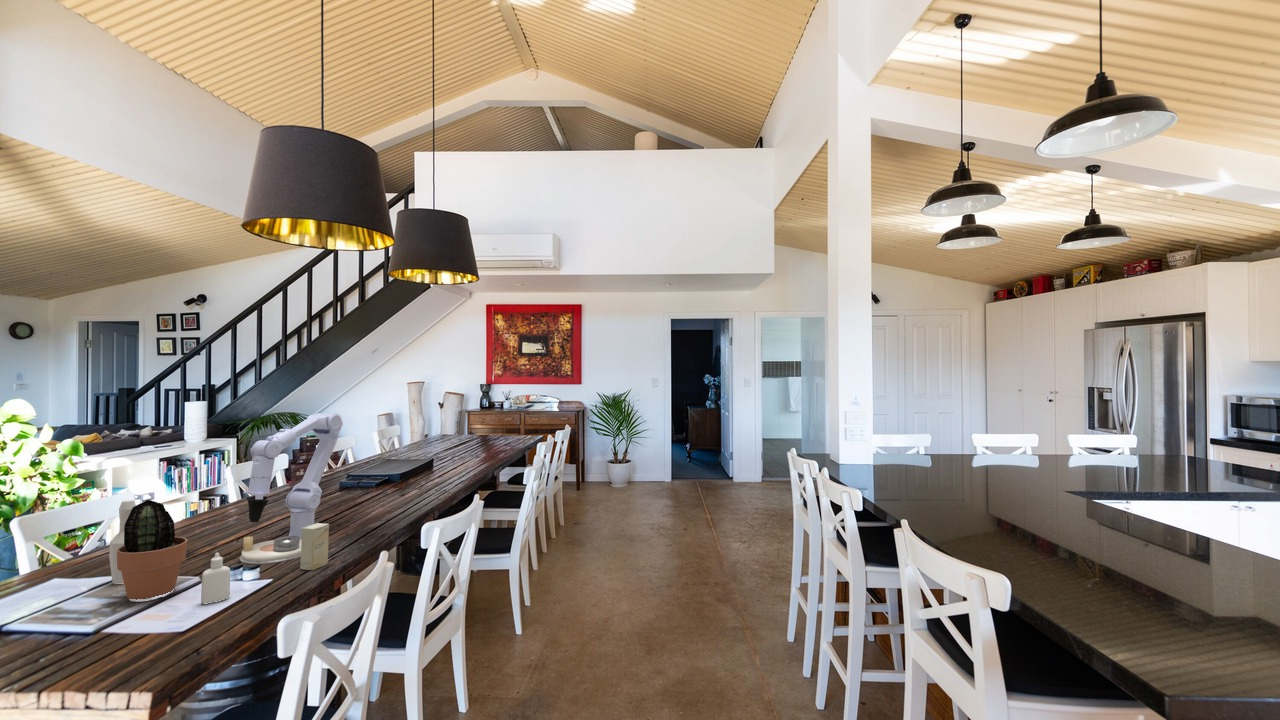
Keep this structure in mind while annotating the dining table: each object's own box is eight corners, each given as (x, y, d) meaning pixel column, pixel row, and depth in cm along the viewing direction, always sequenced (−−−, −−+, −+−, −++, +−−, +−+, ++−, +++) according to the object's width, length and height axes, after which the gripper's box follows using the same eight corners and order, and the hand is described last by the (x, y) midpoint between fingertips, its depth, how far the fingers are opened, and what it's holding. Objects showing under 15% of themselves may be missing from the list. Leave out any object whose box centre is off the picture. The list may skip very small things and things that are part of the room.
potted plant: (194, 592, 143) (198, 496, 144) (126, 611, 131) (130, 507, 132) (172, 581, 150) (176, 490, 151) (105, 598, 138) (110, 499, 139)
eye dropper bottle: (205, 598, 139) (207, 551, 140) (231, 595, 141) (233, 549, 141) (198, 605, 135) (200, 556, 135) (225, 602, 137) (227, 554, 137)
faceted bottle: (120, 587, 146) (124, 504, 146) (102, 584, 147) (105, 502, 147) (146, 578, 152) (149, 499, 152) (128, 576, 153) (131, 497, 154)
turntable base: (244, 549, 177) (244, 547, 177) (312, 541, 187) (312, 540, 187) (234, 568, 161) (234, 566, 161) (309, 558, 170) (309, 556, 170)
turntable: (246, 547, 177) (246, 530, 177) (310, 540, 186) (311, 523, 186) (237, 565, 161) (237, 546, 162) (308, 556, 170) (308, 538, 170)
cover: (274, 546, 173) (274, 537, 173) (300, 544, 177) (300, 534, 177) (272, 553, 167) (272, 543, 167) (298, 550, 171) (299, 540, 171)
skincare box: (312, 570, 160) (313, 529, 160) (299, 569, 161) (300, 528, 161) (328, 563, 166) (329, 523, 166) (316, 562, 167) (317, 522, 167)
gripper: (245, 475, 181) (237, 518, 178) (247, 478, 169) (239, 523, 167) (270, 476, 185) (263, 517, 183) (274, 479, 174) (266, 523, 171)
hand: (253, 520), depth 175 cm, fingers open, 7 cm apart
